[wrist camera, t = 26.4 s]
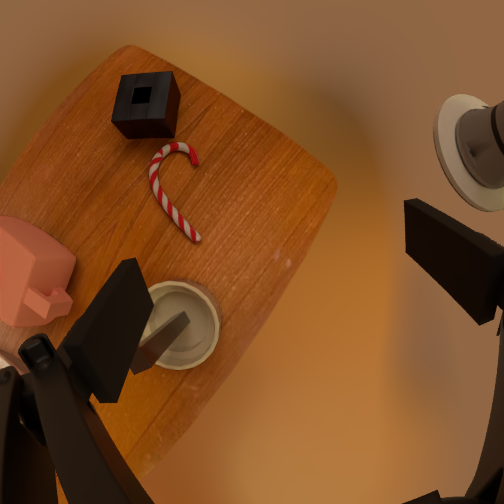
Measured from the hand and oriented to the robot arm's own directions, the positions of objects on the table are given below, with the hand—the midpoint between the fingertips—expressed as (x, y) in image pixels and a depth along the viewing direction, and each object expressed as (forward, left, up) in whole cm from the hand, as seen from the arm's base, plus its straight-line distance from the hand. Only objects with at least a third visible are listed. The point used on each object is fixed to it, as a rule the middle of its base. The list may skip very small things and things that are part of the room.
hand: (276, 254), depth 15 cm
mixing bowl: (+6, +11, -30) cm, 32 cm away
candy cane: (+13, -5, -30) cm, 33 cm away
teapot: (+31, +15, -30) cm, 45 cm away
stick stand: (+22, -14, -30) cm, 40 cm away
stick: (+6, +11, -29) cm, 32 cm away
